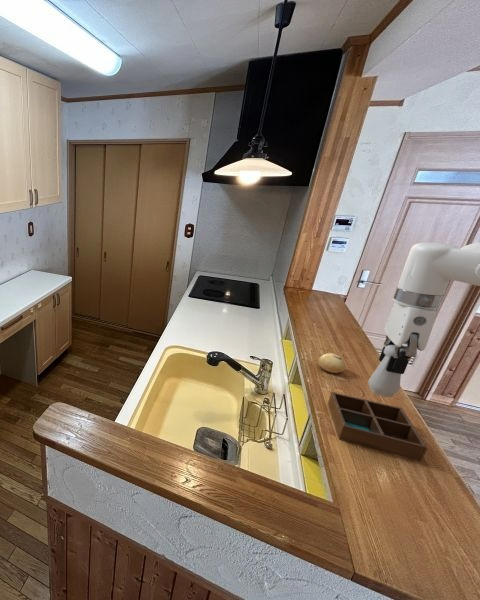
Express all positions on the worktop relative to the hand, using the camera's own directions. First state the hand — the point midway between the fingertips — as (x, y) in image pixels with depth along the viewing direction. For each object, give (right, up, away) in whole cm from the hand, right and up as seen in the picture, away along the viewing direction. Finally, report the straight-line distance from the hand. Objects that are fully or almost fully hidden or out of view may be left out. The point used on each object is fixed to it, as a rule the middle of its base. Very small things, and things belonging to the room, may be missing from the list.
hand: (390, 366), depth 80 cm
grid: (+6, -21, +13) cm, 25 cm away
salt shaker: (0, -7, +3) cm, 8 cm away
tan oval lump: (+18, -10, +42) cm, 47 cm away
